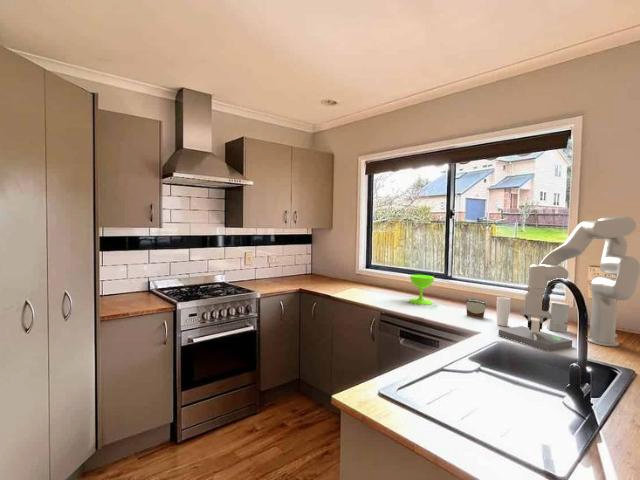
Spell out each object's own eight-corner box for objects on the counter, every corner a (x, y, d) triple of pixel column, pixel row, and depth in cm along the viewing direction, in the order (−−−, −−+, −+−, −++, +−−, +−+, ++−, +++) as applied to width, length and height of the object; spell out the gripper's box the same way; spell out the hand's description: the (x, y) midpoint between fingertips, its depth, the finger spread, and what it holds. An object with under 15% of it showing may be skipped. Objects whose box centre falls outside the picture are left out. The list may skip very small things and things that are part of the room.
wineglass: (437, 303, 248) (439, 277, 248) (422, 305, 239) (423, 278, 239) (419, 299, 261) (420, 274, 261) (404, 300, 252) (405, 275, 252)
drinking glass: (496, 322, 202) (498, 296, 201) (510, 325, 198) (512, 298, 197) (493, 325, 197) (495, 297, 196) (507, 327, 192) (509, 299, 192)
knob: (530, 330, 175) (530, 317, 175) (537, 332, 174) (538, 318, 174) (531, 338, 162) (532, 324, 162) (539, 340, 161) (540, 325, 160)
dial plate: (521, 331, 185) (522, 325, 185) (572, 346, 164) (572, 340, 164) (498, 335, 177) (498, 329, 177) (548, 351, 156) (548, 344, 155)
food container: (489, 317, 213) (490, 300, 213) (485, 319, 209) (486, 302, 209) (468, 313, 222) (469, 297, 221) (464, 315, 217) (465, 298, 217)
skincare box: (549, 330, 190) (551, 302, 190) (546, 327, 196) (548, 300, 195) (567, 332, 187) (569, 304, 187) (564, 330, 193) (566, 302, 192)
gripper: (517, 290, 170) (514, 328, 171) (558, 294, 162) (556, 335, 163) (517, 288, 177) (514, 325, 177) (557, 292, 169) (554, 331, 170)
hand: (534, 329), depth 170 cm, fingers closed on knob, 3 cm apart
